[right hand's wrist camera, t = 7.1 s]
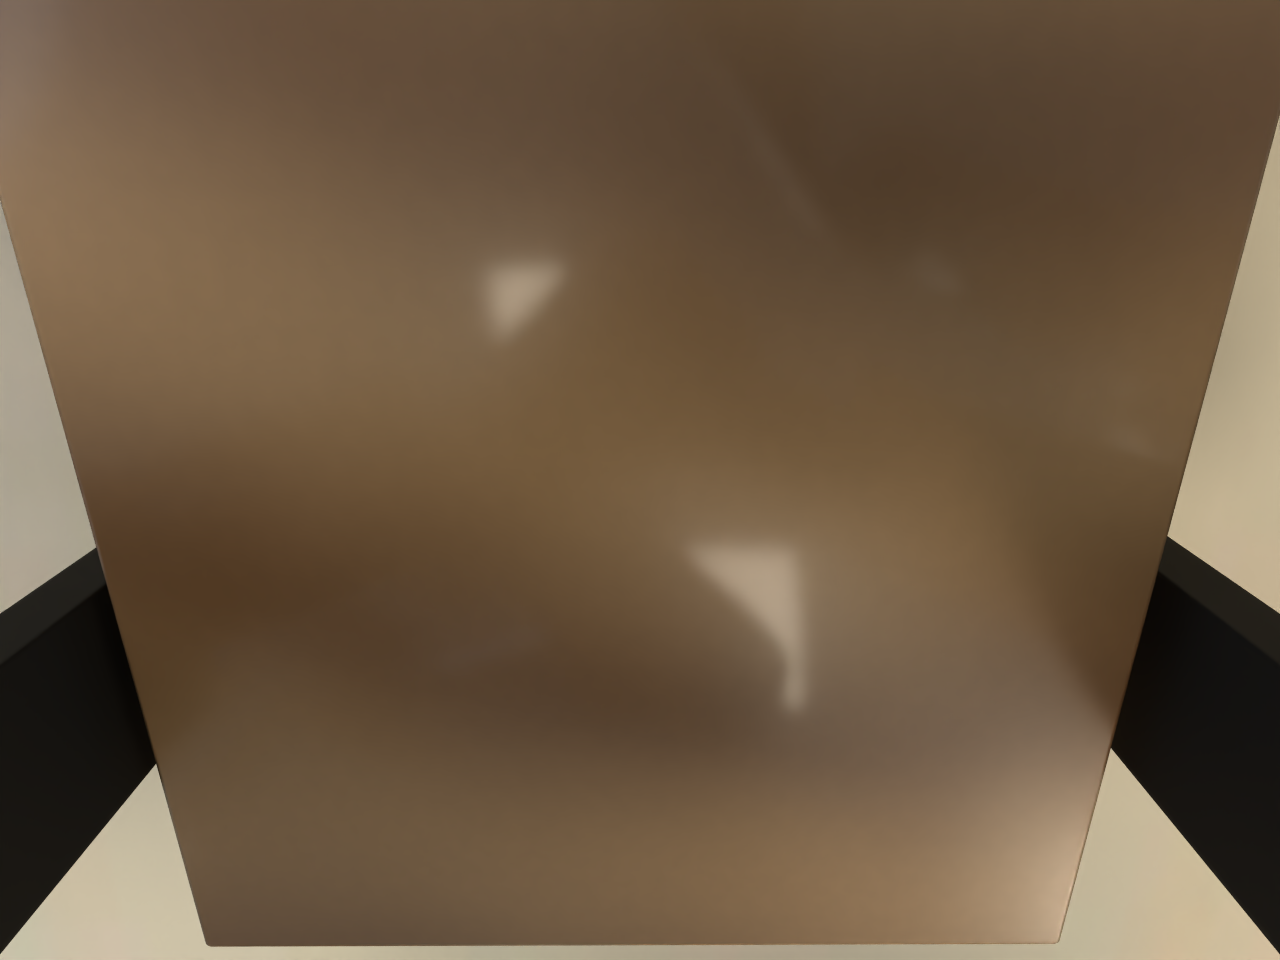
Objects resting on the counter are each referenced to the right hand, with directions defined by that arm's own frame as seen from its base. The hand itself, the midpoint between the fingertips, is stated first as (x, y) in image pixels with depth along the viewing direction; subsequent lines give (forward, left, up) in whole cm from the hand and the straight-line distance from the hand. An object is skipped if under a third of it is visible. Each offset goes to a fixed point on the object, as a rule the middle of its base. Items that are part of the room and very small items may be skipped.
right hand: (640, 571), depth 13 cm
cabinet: (+6, -4, -5) cm, 8 cm away
